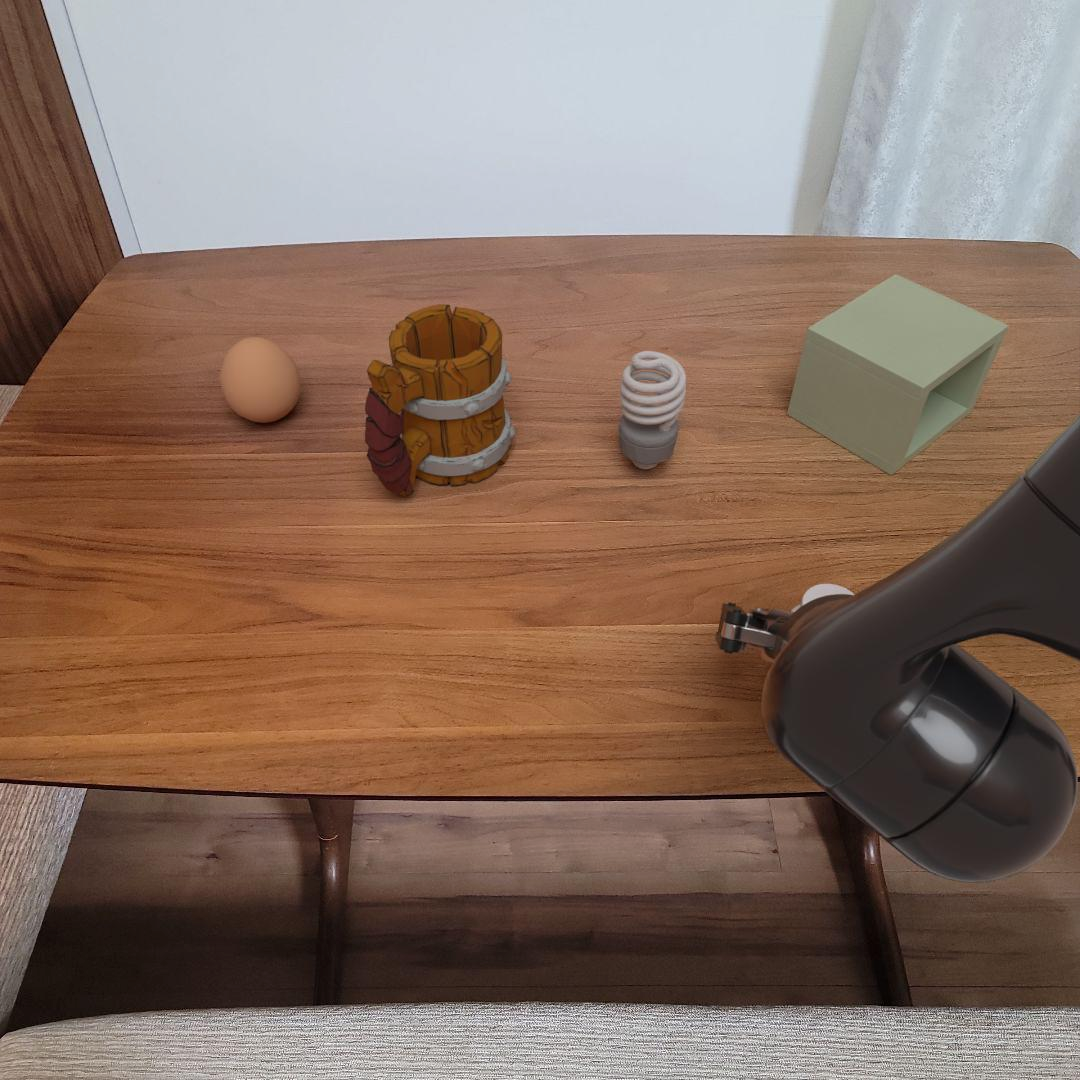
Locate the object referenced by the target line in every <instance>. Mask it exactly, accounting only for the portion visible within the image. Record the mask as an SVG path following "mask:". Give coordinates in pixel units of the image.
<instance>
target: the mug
mask: <svg viewBox="0 0 1080 1080" xmlns="http://www.w3.org/2000/svg"><path fill="white" fill-rule="evenodd" d="M503 336H504V335H503V332H502V330H501V326H500V325H499V324H497V323H496V321H495V319H494V318H492V317H491V316H488V315H486V314H485V313H484V312H482V311H479V310H476V309H471V308H468V307H459V306H455V307H454V308H453V311H452V309H451V305H450V304H442V303H441V304H435V305H430V306H427V307H423V308H420V309H418V310H415V311H413V312H411V313H409V314H408V315H406V316H405V317H404V319H402V320H400V321H399V322H398V323H397V324H395V329H393V330H391V332H390V334H389V336H388V347H389V352H390V359H391V364H389V363H386V362H383V361H382V360H379V359H373V360H371V362H370V363H369V365H368V368H367V369H366V373H367V377H368V379H369V381H370V384H371V387H369V389H368V393H367V396H366V399H365V406H364V411H365V414H366V415H367V417H365V428H364V442H365V444H366V445H367V446H368V448H367V454H366V457H367V460H368V461H369V463H370V467H371V470H372V472H373V473H374V474H375V475H376V476H377V478H378V479H379V482H380V483H381V484H382V486H383V487H384V489H386V490H387V491H389V492H391V493H392V494H397V495H398V496H401V497H407V496H408V495H409V494H410V493H411V494H413V493H414V487H415V484H416V478H418V479H421V480H423V481H425V482H427V483H428V484H433V485H436V486H448V485H449V484H450V485H451V486H452V487H455V486H465V485H466V484H467V482H469V483H474V484H475V483H478V482H480V481H483V480H484V479H487V478H489V477H491V476H492V475H493V474H495V473H496V472H497V471H498V470H499V466H500V465H504V464H505V463H506V461H507V459H508V457H509V453H510V449H511V443H512V439H514V438H515V436H516V430H515V427H514V426H512V420H511V417H510V414H509V412H508V410H507V408H506V407H505V399H504V394H505V392H506V390H507V386H509V385H510V384H511V381H512V375H511V374H510V371H508V368H507V363H506V359H505V357H504V356H503Z"/></svg>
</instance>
